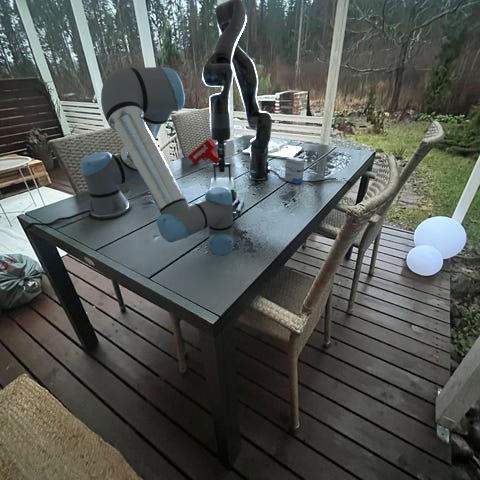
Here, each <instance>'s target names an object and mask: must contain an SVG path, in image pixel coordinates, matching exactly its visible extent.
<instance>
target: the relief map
mask: <svg viewBox="0 0 480 480" xmlns="http://www.w3.org/2000/svg"><path fill="white" fill-rule="evenodd" d="M302 147H303V146H294V145H292V144H290V143H289V142H288V141H284V142H282V143H280V144H279V143H278V142H276V141H273V140H272V139H271V138H270V141H269V145H268V157H271V158H277V159H285V160H286V159H287V158H289V157H296V156H297V155H298V154H299V153H300V152H302V151H303V150H304V148H303V149H302ZM250 148H251V145H250V146H249V147H248V148H247V149H245V150H242V153H243V154H247V155H248V154H249V155H250ZM296 153H297V154H296Z"/></svg>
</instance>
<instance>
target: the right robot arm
mask: <svg viewBox="0 0 480 480" xmlns="http://www.w3.org/2000/svg"><path fill="white" fill-rule="evenodd" d="M214 13H215V14H214V15H215V20H216V24H217V27H218V29H219V32H220V35H219V36H218V37H217V40H216V42H215V44H214V48H213V51H212V54H210V56H209V58H208V59H207V60H206V61H205V64H204V66H203V68H202V72H201V73H202V74H201V75H202V76H201V77H202V81H203V83H204V84H205V86H207V87H210V88H216V87H217V88H220V87H221V88H222V89H221V92H218V93H215V94H212V95H210V96H209V127H210V128H209V129H210V139H211V140H212V141H216V143H215V145H216V147H215V149H216V154H217V157H218V163H219V167H218V171H219V173H225V171H226V167H225V165H224V164H226V160H225V159H226V156H227V143H226V142H225V141H229V140H230V139H231V116H230V94H231V88H232V85H233V82H234V81H233V79H234V78H235V81H236V84H237V87H238V90H239V93H240V96H241V100H242V103H243V108H244V111H245V117H246V122H247V124H248V127H249V129H251V130H253V131H255V137H254V138H251V139H250V146H251V148H250V154H249V157H250V158H249V160H250V161H249V165H250V166H249V167H250V168H249V178H250V180H253V181H256V182H257V181H265V180H268V179H269V174H270V173H271V172H272V173H273V174H275V175H276V176H277V177H278V179H279V180H284V181H285V177H281V176H280V175H279V174H278V172H277V171H274V170H273V169H271V166H269V156H268V145H269V141H270V139H271V136H272V128H273V127H272V126H273V120H272V115H271V114H270V112H268V111H262V110H261V109H260V107H259V104H258V99H257V93H258V85H259V79H258V74H257V70H256V66H255V63H254V62H253V60H252V59H251V57H250V56H249V55H248V54H247V53H246V52H245V51H244V50H243V49H242V48H241V47H240V46H239V44H238V41H239V39H240V37H241V35H242V33H243V32H244V29H245V26H246V23H247V9H246V6H245V4H244V2H243V0H226V1H224V2H222V3H219V4H218V5H216V7H215V9H214ZM336 178H337V177H328V178H323V179H324V180H323V179H316V180H317V181H316V180H304V179H303V180H302V182H301V183H319V182H326V181H329V180H333V181H334V180H335V181H336V180H337V179H336ZM342 178H343V179H346V178H344V177H342ZM346 182H347V183H349V184H351V181H350V180H349V181H346Z"/></svg>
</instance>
